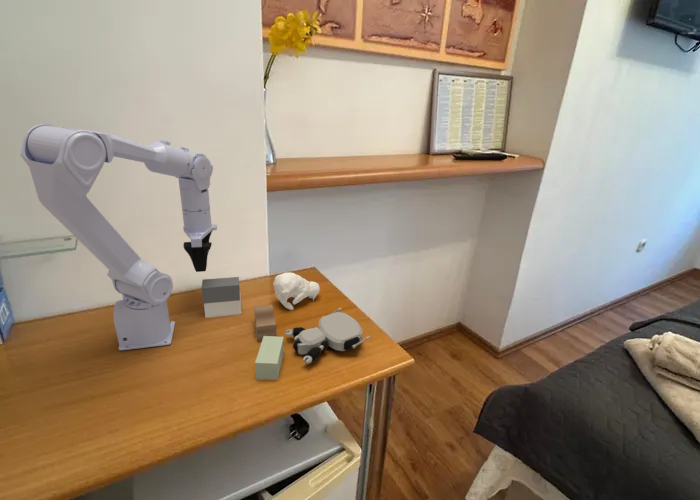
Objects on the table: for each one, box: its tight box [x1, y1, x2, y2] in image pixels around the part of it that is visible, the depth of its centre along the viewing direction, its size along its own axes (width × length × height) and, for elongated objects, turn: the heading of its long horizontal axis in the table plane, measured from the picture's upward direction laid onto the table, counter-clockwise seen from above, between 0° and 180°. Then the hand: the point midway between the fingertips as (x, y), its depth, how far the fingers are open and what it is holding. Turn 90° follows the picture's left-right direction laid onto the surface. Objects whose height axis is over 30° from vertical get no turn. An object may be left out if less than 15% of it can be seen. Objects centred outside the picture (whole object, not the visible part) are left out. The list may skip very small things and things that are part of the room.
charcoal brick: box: [201, 276, 241, 305], centre depth 89 cm, size 8×4×4 cm, turn 106°
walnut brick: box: [253, 304, 277, 343], centre depth 85 cm, size 8×4×4 cm, turn 16°
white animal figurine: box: [272, 272, 321, 311], centre depth 95 cm, size 6×8×12 cm
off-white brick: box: [203, 295, 242, 319], centre depth 90 cm, size 8×4×4 cm, turn 107°
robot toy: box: [285, 307, 371, 365], centre depth 81 cm, size 12×4×15 cm
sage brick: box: [254, 335, 285, 381], centre depth 75 cm, size 8×4×4 cm, turn 1°
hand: (201, 263), depth 90 cm, fingers open, 7 cm apart
